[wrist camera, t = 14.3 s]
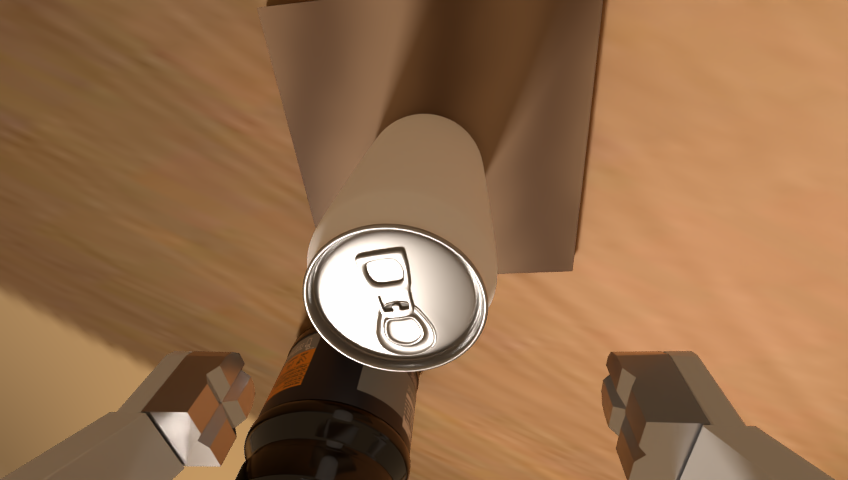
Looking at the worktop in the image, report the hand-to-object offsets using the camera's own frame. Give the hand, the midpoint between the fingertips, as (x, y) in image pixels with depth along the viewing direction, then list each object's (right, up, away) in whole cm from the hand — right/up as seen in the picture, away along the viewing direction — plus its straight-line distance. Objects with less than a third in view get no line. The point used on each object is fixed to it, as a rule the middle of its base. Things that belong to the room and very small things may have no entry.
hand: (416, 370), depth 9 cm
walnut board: (+1, +8, +14) cm, 16 cm away
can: (0, +7, +14) cm, 15 cm away
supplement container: (-5, -7, +23) cm, 25 cm away
